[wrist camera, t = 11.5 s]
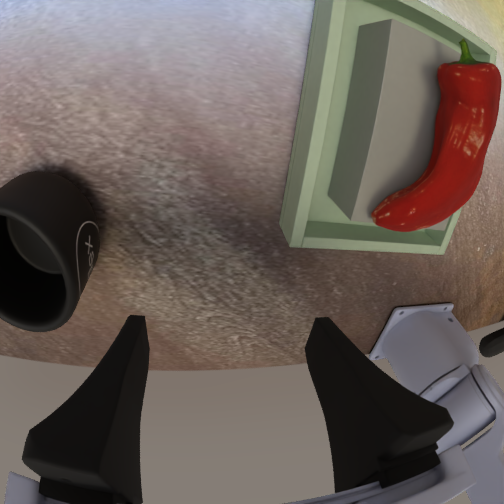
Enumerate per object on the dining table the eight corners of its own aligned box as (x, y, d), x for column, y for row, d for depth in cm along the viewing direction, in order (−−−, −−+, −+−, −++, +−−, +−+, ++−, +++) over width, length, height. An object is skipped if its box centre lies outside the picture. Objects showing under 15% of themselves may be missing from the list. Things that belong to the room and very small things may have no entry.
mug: (112, 169, 18) (70, 216, 12) (106, 279, 22) (83, 346, 16) (-20, 156, 15) (-79, 193, 9) (-9, 255, 19) (-49, 307, 13)
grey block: (449, 64, 16) (486, 70, 12) (415, 207, 22) (444, 231, 18) (358, 25, 14) (392, 18, 11) (327, 195, 20) (350, 221, 17)
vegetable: (449, 17, 8) (370, 236, 15) (534, 75, 7) (450, 267, 15) (423, 27, 11) (364, 200, 19) (496, 69, 11) (432, 227, 18)
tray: (468, 48, 15) (497, 50, 13) (422, 235, 24) (443, 255, 22) (317, -20, 13) (337, -34, 10) (278, 223, 22) (289, 247, 19)
